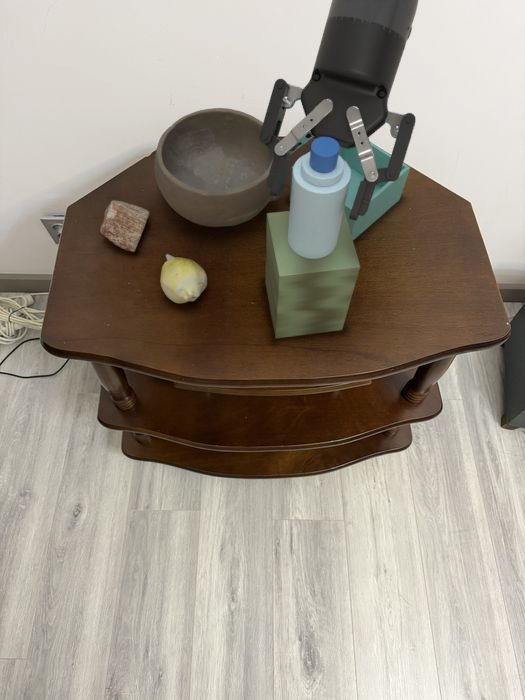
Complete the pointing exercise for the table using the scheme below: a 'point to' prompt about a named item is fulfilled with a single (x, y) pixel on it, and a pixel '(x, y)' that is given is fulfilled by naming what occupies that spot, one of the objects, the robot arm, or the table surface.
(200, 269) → the fruit
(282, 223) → the stand
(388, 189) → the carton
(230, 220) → the bowl
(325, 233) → the bottle
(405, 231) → the table surface
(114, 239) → the stone
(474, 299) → the table surface
